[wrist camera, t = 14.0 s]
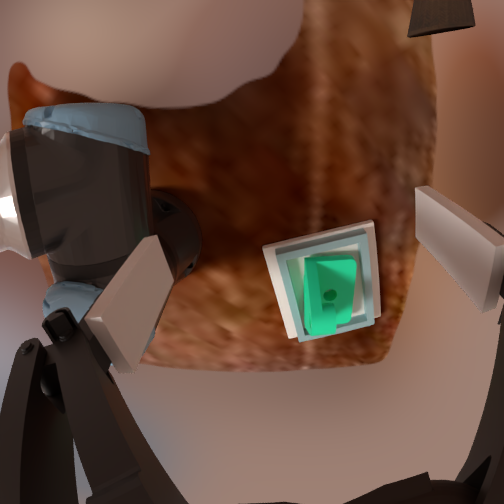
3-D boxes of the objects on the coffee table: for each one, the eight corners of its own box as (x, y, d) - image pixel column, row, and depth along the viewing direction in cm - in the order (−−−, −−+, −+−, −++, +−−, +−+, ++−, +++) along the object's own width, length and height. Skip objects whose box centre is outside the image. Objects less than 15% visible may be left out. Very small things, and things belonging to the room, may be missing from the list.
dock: (288, 334, 54) (289, 346, 51) (262, 245, 46) (262, 255, 43) (379, 312, 52) (384, 323, 49) (371, 219, 44) (378, 227, 41)
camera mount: (347, 313, 50) (361, 355, 41) (303, 317, 51) (310, 361, 42) (352, 250, 45) (373, 288, 36) (303, 254, 45) (313, 293, 36)
